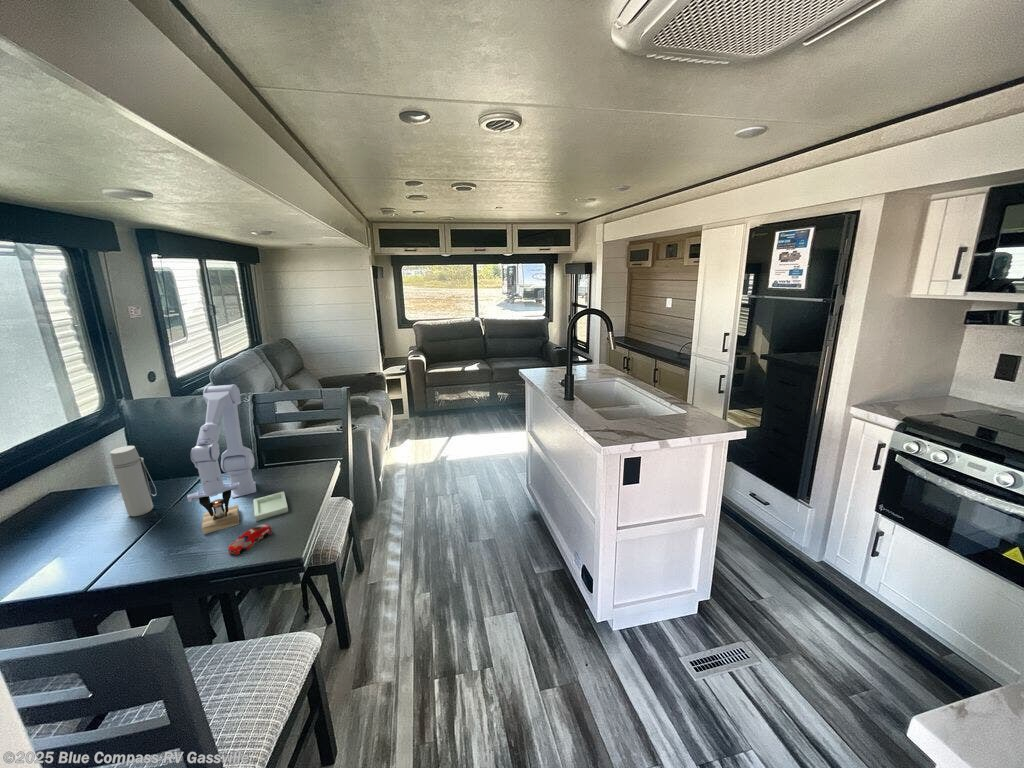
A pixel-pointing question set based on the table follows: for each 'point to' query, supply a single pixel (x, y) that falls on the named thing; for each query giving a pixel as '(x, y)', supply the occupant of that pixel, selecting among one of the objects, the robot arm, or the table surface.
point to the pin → (218, 508)
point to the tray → (270, 506)
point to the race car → (249, 539)
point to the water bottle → (132, 480)
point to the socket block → (220, 520)
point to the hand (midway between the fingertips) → (219, 512)
